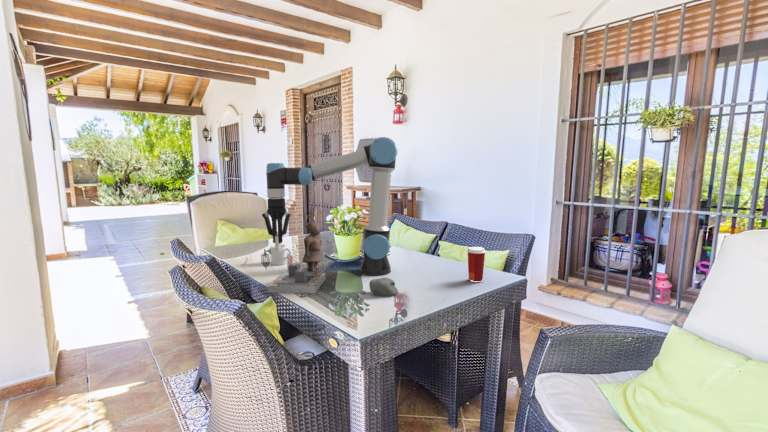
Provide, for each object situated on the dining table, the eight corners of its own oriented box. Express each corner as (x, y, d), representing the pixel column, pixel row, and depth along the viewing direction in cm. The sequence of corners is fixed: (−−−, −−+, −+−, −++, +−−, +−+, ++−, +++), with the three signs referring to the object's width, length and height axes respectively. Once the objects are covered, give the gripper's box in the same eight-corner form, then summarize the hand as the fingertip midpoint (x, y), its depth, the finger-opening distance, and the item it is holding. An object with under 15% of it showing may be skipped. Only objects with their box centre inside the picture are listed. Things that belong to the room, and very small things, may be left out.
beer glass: (486, 279, 175) (487, 247, 173) (483, 284, 168) (483, 251, 166) (468, 277, 178) (468, 245, 177) (464, 282, 171) (464, 249, 169)
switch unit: (325, 279, 177) (325, 270, 177) (314, 293, 158) (314, 284, 157) (283, 278, 179) (283, 270, 178) (267, 292, 159) (267, 283, 158)
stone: (395, 298, 150) (383, 275, 151) (376, 306, 153) (365, 284, 153) (400, 291, 159) (389, 270, 159) (382, 299, 162) (371, 278, 162)
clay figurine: (314, 274, 186) (312, 223, 183) (297, 272, 190) (295, 222, 187) (328, 267, 198) (327, 220, 195) (312, 265, 202) (310, 219, 199)
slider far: (300, 273, 175) (300, 261, 174) (297, 276, 170) (297, 264, 170) (292, 273, 176) (291, 261, 175) (288, 276, 171) (288, 264, 170)
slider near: (307, 280, 165) (307, 267, 164) (304, 283, 160) (303, 270, 159) (298, 280, 165) (298, 267, 164) (295, 283, 160) (294, 270, 160)
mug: (286, 266, 200) (286, 248, 199) (268, 264, 205) (267, 246, 204) (296, 263, 208) (295, 245, 206) (278, 261, 212) (277, 244, 211)
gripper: (293, 197, 172) (294, 248, 175) (265, 197, 173) (267, 248, 176) (287, 198, 165) (289, 252, 168) (258, 198, 166) (260, 251, 169)
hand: (278, 250), depth 172 cm, fingers closed
